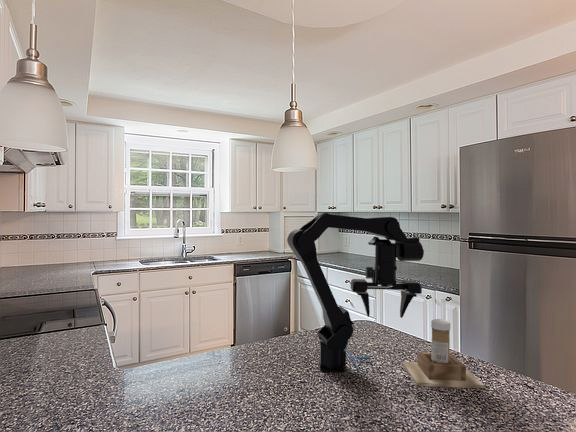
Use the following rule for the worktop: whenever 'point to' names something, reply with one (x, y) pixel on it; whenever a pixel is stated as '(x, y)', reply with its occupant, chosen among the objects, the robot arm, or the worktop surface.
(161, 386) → the worktop surface
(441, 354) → the sprinkles bottle
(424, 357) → the bottle stand
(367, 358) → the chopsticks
